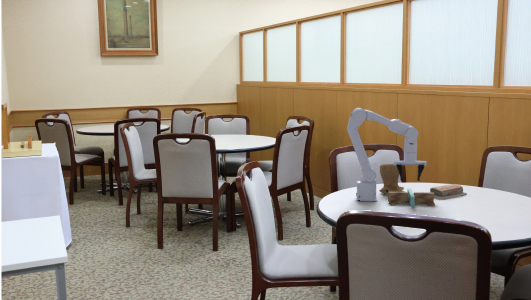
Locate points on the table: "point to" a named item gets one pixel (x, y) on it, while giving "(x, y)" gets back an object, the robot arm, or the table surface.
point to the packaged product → (447, 191)
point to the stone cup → (390, 178)
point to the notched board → (403, 198)
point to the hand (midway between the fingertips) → (409, 180)
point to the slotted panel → (411, 198)
